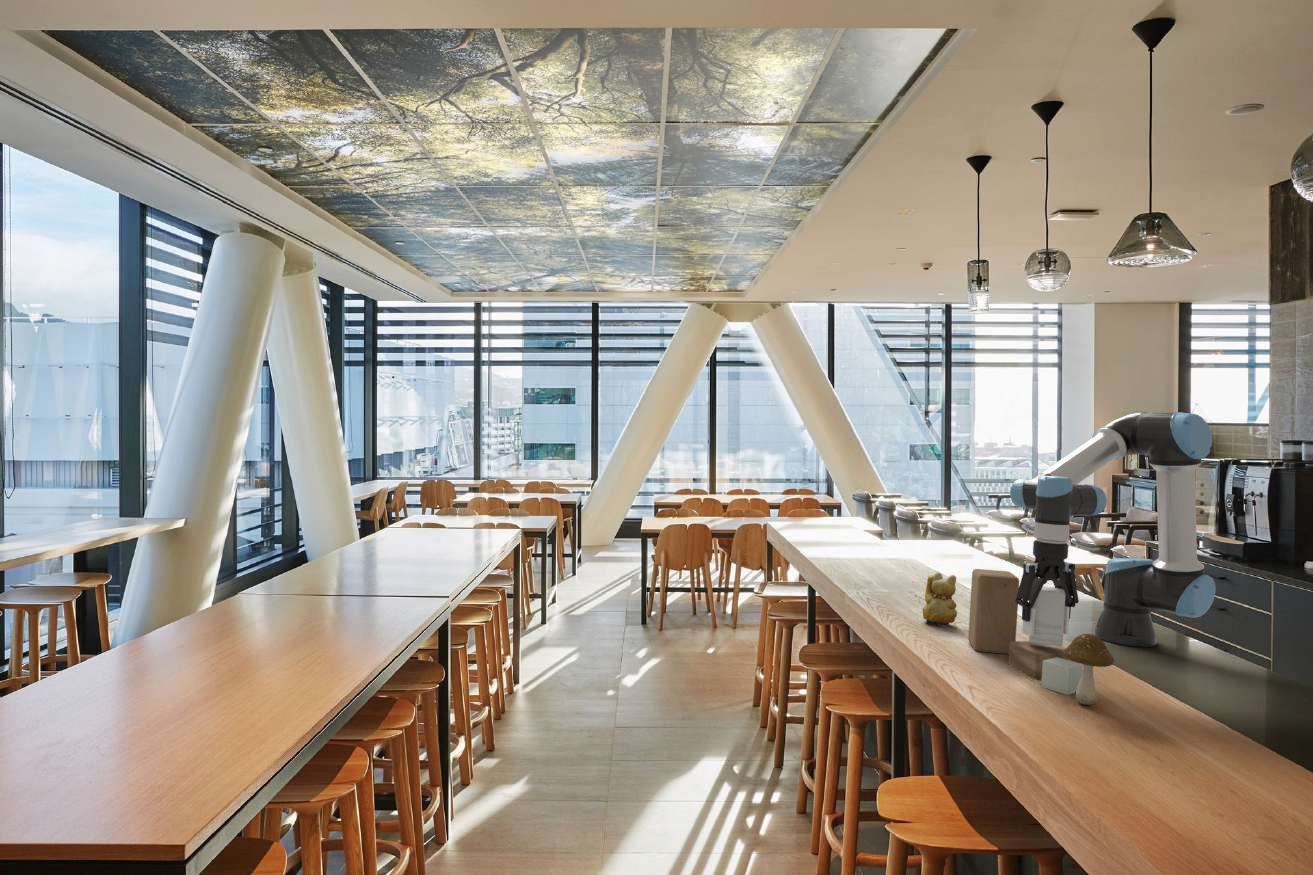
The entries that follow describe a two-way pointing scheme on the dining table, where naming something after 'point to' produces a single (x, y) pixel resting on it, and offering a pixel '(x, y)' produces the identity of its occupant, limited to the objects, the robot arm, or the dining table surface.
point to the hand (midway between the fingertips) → (1045, 633)
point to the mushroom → (1088, 663)
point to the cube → (1061, 675)
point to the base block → (1033, 656)
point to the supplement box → (1049, 616)
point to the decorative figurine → (940, 600)
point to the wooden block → (993, 610)
